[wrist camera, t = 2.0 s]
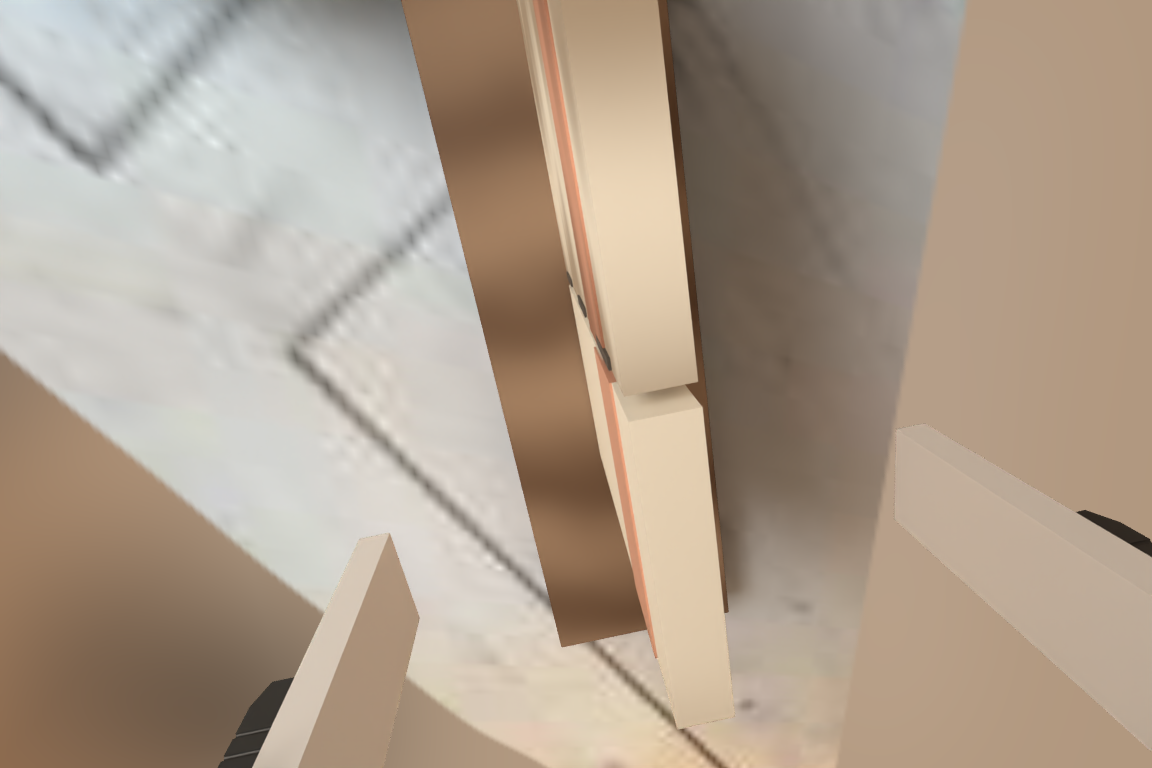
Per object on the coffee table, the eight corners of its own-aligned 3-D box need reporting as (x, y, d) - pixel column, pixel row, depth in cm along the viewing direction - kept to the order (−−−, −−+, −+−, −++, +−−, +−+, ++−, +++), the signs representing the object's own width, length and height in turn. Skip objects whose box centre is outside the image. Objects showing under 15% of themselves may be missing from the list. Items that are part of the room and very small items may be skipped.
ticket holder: (355, -219, 16) (-302, -1776, 3) (621, -266, 17) (993, -1923, 3) (559, 615, 28) (591, 1004, 15) (714, 583, 28) (883, 938, 15)
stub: (567, 285, 20) (625, 422, 9) (603, 278, 20) (704, 406, 9) (598, 454, 23) (675, 729, 11) (630, 448, 23) (737, 716, 11)
